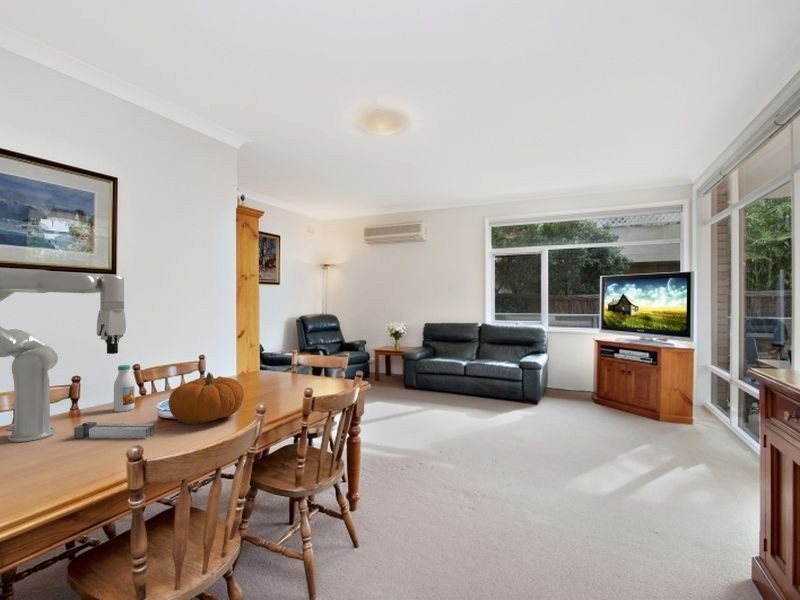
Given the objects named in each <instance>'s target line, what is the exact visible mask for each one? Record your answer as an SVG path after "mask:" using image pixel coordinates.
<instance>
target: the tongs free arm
mask: <svg viewBox="0 0 800 600" xmlns="http://www.w3.org/2000/svg"><path fill="white" fill-rule="evenodd" d="M155 425H156V424H155V423H123V422H121V423H119V422H117V423H112V422H110V423H108V422H106V423H105V422H100V423H97V425H95V427H150V436H152V435H154V434H155V433H156V431H155V430H156V428H155Z"/></svg>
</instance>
